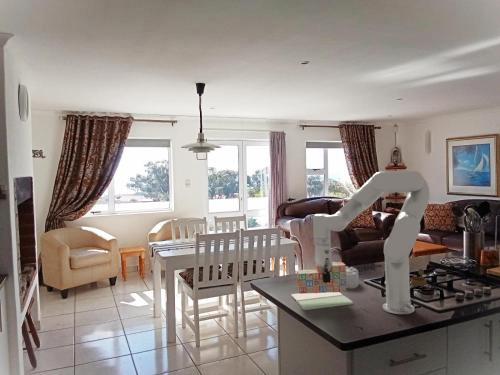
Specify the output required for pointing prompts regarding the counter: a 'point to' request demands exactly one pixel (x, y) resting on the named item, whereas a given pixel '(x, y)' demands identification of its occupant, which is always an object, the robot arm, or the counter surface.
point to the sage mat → (325, 302)
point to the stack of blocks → (314, 279)
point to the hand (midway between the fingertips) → (323, 279)
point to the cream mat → (314, 296)
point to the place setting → (418, 279)
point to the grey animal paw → (352, 277)
